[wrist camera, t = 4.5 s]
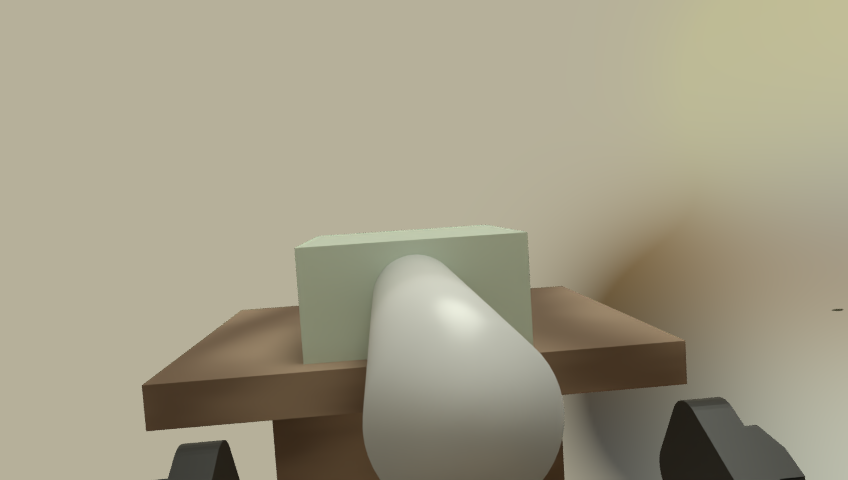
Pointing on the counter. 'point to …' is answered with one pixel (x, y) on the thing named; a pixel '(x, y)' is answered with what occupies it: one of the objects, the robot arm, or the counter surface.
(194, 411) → the walnut stand
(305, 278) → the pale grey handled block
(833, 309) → the counter surface
